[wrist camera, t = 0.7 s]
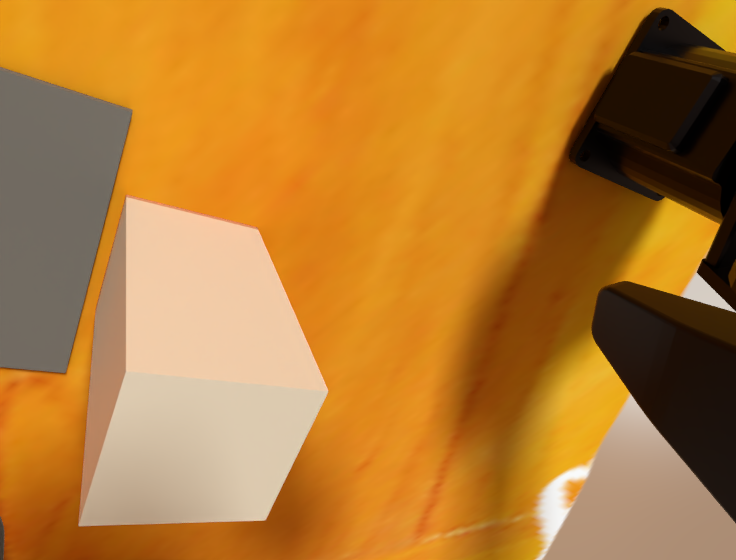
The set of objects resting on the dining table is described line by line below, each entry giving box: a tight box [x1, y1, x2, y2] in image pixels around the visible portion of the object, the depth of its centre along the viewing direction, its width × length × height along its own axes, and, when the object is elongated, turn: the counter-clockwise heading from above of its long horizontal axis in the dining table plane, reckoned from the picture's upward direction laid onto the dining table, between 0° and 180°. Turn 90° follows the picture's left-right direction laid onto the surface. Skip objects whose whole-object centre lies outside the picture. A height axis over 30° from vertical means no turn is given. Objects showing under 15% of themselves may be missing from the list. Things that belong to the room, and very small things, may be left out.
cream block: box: [78, 195, 328, 526], centre depth 16 cm, size 4×4×9 cm
